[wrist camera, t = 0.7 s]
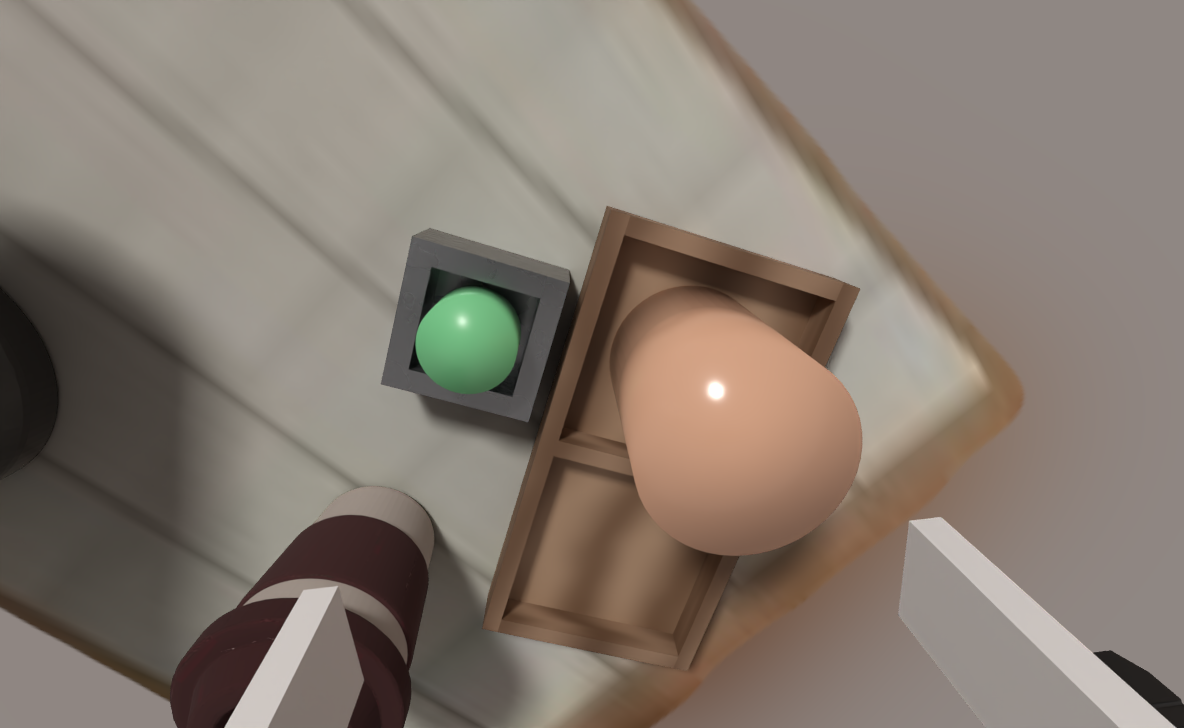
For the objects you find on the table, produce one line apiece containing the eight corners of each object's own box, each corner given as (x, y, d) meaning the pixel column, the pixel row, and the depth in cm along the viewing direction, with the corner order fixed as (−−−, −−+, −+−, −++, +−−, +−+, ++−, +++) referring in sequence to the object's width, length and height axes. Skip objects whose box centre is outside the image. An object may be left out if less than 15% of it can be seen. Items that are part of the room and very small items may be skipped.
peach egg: (589, 410, 35) (603, 527, 23) (637, 265, 32) (679, 318, 21) (728, 447, 36) (806, 576, 24) (785, 310, 33) (902, 384, 22)
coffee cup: (416, 614, 40) (335, 857, 26) (278, 556, 38) (109, 785, 24) (482, 506, 38) (434, 709, 24) (339, 437, 36) (191, 614, 22)
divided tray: (488, 593, 40) (482, 628, 37) (606, 205, 32) (611, 209, 29) (678, 634, 42) (687, 671, 39) (833, 278, 34) (860, 288, 31)
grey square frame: (400, 360, 34) (381, 384, 31) (430, 228, 32) (412, 235, 28) (531, 395, 35) (528, 422, 32) (569, 269, 33) (569, 282, 29)
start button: (420, 360, 31) (406, 379, 28) (440, 274, 30) (427, 285, 27) (508, 383, 32) (502, 404, 29) (531, 300, 30) (528, 314, 27)
